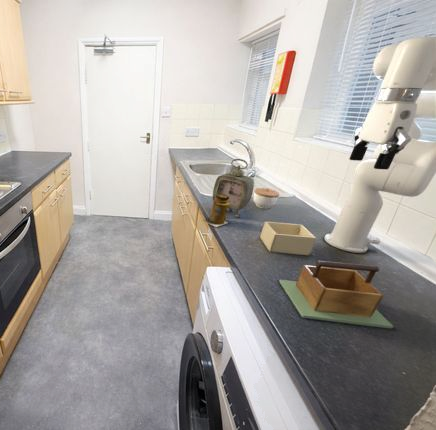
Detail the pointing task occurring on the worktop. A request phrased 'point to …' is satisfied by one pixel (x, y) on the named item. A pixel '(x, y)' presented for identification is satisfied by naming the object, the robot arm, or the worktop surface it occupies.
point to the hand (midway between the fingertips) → (367, 164)
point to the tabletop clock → (235, 188)
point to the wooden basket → (339, 288)
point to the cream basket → (287, 238)
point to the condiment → (218, 211)
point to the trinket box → (265, 197)
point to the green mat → (308, 312)
